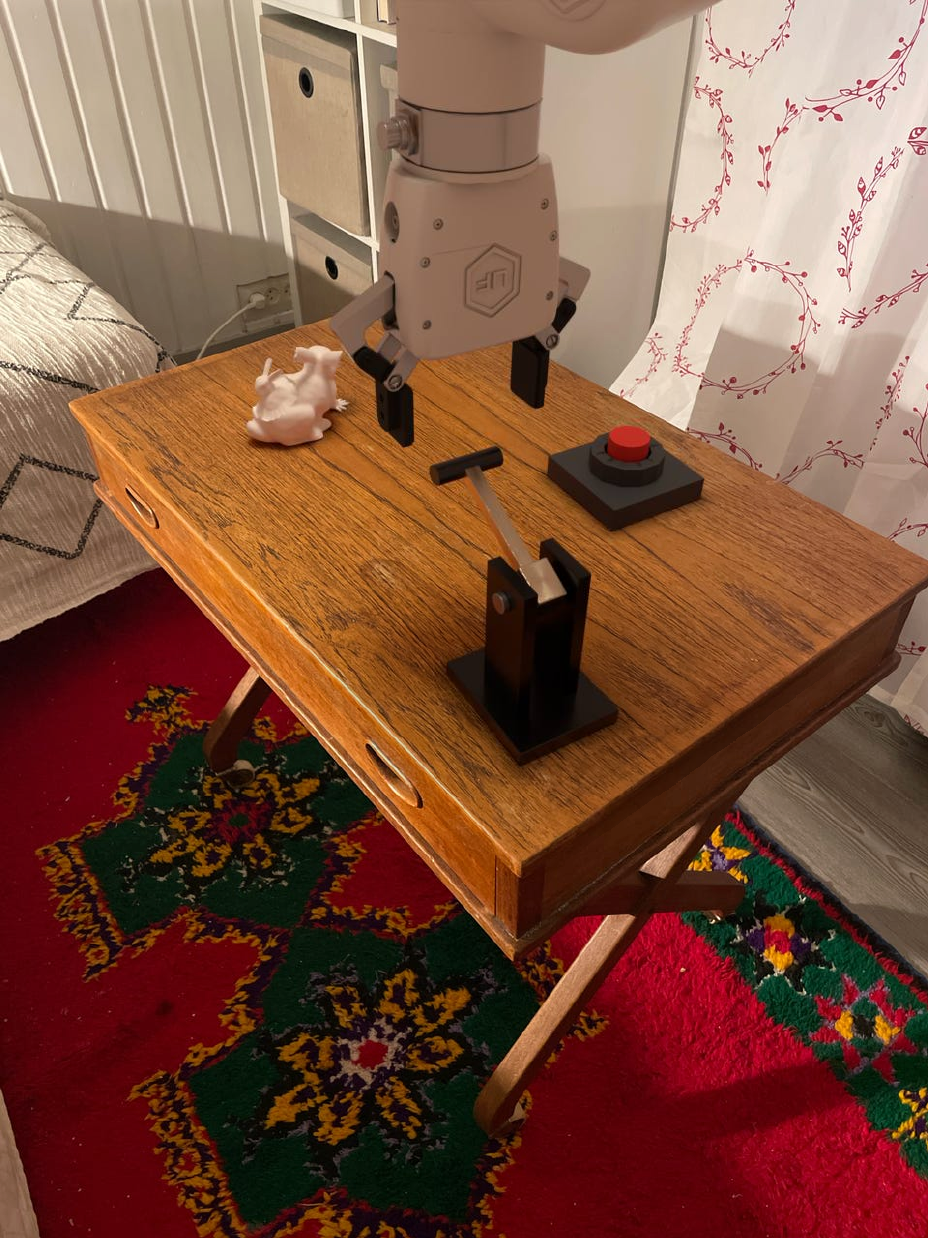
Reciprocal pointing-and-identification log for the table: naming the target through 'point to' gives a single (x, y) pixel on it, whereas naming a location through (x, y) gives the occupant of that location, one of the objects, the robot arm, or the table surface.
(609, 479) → the control block
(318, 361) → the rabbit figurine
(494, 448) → the lever
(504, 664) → the switch bracket
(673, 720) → the table surface
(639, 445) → the button
